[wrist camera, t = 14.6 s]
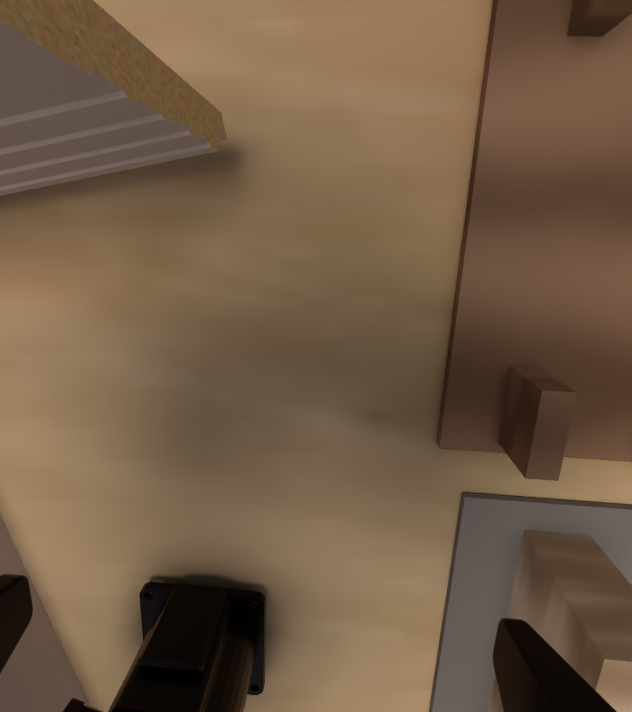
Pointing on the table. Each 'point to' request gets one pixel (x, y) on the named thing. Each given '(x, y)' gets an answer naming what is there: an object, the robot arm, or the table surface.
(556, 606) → the plywood sheet
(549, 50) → the offcut rack
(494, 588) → the slate mat
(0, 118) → the baseboard
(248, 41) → the table surface
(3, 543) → the crown molding
